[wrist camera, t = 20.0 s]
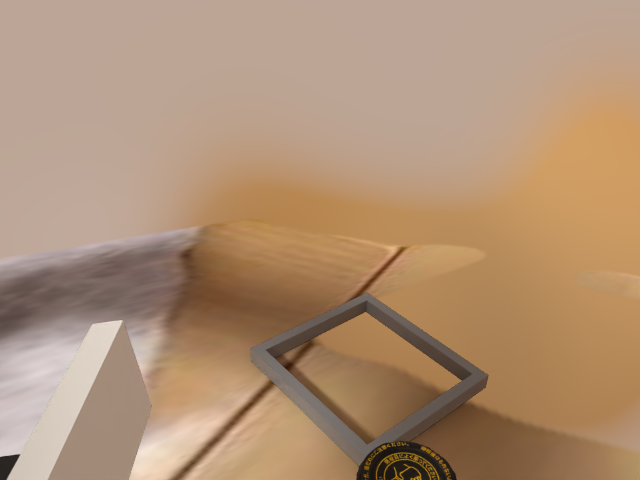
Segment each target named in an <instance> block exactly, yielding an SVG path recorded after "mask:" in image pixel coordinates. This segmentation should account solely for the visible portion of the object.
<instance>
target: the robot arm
mask: <svg viewBox="0 0 640 480" xmlns="http://www.w3.org/2000/svg"><path fill="white" fill-rule="evenodd" d="M151 408H152V405H151V402H150V399H149V396H148V393H147V390H146V387H145V384H144V381H143V378H142V375H141V372H140V369H139V366H138V363H137V360H136V357H135V354H134V351H133V348H132V345H131V342H130V339H129V336H128V333H127V330H126V327H125V324H124V321H123V320H118V321H111V322H103V323H95V324H92V326H91V327H90V329H89V331H88V333H87V335H86V337H85V338H84V340H83V342H82V344H81V346H80V347H79V349H78V351H77V353H76V355H75V357H74V358H73V360H72V362H71V364H70V366H69V367H68V369H67V371H66V373H65V375H64V376H63V378H62V380H61V382H60V384H59V386H58V387H57V389H56V391H55V393H54V395H53V396H52V398H51V400H50V402H49V404H48V406H47V407H46V409H45V411H44V413H43V415H42V416H41V418H40V420H39V422H38V424H37V426H36V427H35V429H34V431H33V433H32V435H31V436H30V438H29V440H28V442H27V444H26V445H25V447H24V449H23V451H22V453H21V454H19V455H11V456H3V457H0V480H129V477H130V473H131V470H132V467H133V464H134V461H135V458H136V455H137V452H138V448H139V445H140V442H141V439H142V436H143V433H144V430H145V427H146V423H147V420H148V417H149V414H150V411H151Z"/></svg>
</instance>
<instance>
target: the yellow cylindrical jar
mask: <svg viewBox="0 0 640 480" xmlns="http://www.w3.org/2000/svg"><path fill="white" fill-rule="evenodd" d="M356 480H457V479H456V475H455V473H454V471H453V470H452V468H451V467H450V465H449V464H448V462H447V461H446V460H445V459H444V458H442V457H441V456H440V455H439V454H437V453H436V452H434V451H433V450H431V449H430V448H428V447H426V446H423V445H420V444H418V443H412V442H407V441H397V442H391V443H384V444H381V445H380V446H378V447H376V448H375V449H374V450H372V451H371V452H370V453H369V454H368V455H367V456H366V457H365V459H364V461H363V462H362V463H361V464H360V466H359V470H358V472H357V479H356Z"/></svg>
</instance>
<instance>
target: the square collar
mask: <svg viewBox="0 0 640 480" xmlns="http://www.w3.org/2000/svg"><path fill="white" fill-rule="evenodd" d="M364 312H367V313H369V314H370V315H371V316H373V317H374V318H375V319H377V320H378V321H380V322H381V323H383V324H384V325H385V326H387V327H388V328H390V329H391V330H392V331H394V332H395V333H397V334H398V335H399V336H401V337H402V338H403V339H405V340H406V341H408V342H409V343H411V344H412V345H413V346H415V347H416V348H417V349H419V350H420V351H422V352H423V353H424V354H426V355H427V356H429V357H430V358H431V359H433V360H434V361H436V362H437V363H439V364H440V365H441V366H443V367H444V368H445V369H447V370H448V371H450V372H451V373H453V374H454V375H455V376H457V377H458V378H459V379H461V380H462V381H461V382H460V383H458V384H457V385H455V386H454V387H452V388H451V389H449V390H448V391H446V392H445V393H443V394H442V395H440V396H439V397H437V398H436V399H435V400H433V401H432V402H430V403H429V404H427V405H426V406H424V407H423V408H421V409H420V410H418V411H417V412H415V413H414V414H412V415H411V416H409V417H408V418H406V419H405V420H403V421H402V422H400V423H399V424H397V425H396V426H394V427H393V428H391V429H390V430H388V431H387V432H386V433H384V434H383V435H381V436H380V437H378V438H377V439H375V440H374V441H372V442H371V443H369V444H368V445H367V444H366V443H365V442H364V441H363V440H362V439H361V438H360V437H359V436H358V435H356V434H355V433H354V432H353V431H352V430H351V429H350V428H349V427H348V426H347V425H346V424H345V423H344V422H342V421H341V420H340V419H339V418H338V417H337V416H336V415H335V414H334V413H333V412H332V411H331V410H330V409H328V408H327V407H326V406H325V405H324V404H323V403H322V402H321V401H320V400H319V399H318V398H317V397H316V396H314V395H313V394H312V393H311V392H310V391H309V390H308V389H307V388H306V387H305V386H304V385H303V384H302V383H300V382H299V381H298V380H297V379H296V378H295V377H294V376H293V375H292V374H291V373H290V372H289V371H288V370H286V369H285V368H284V367H283V366H282V365H281V364H280V363H279V362H278V361H277V360H276V359H275V357H277V356H279V355H281V354H283V353H285V352H287V351H289V350H291V349H293V348H295V347H297V346H299V345H301V344H303V343H305V342H307V341H309V340H311V339H313V338H315V337H317V336H319V335H320V334H322V333H324V332H326V331H328V330H330V329H332V328H334V327H336V326H338V325H340V324H342V323H344V322H346V321H348V320H350V319H352V318H354V317H356V316H358V315H360V314H362V313H364ZM251 361H252V362H253V363H254V364H255V365H256V366H257V367H258V368H259V369H260V370H261V371H262V372H263V373H264V374H265V375H266V376H267V377H268V378H269V379H270V380H271V381H272V382H273V383H274V384H275V385H276V386H277V387H278V388H279V389H280V390H282V391H283V392H284V393H285V394H286V395H287V396H288V397H289V398H290V399H291V400H292V401H293V402H294V403H295V404H296V405H297V406H298V407H299V408H300V409H301V410H302V411H303V412H304V413H305V414H306V415H307V416H308V417H309V418H310V419H311V420H312V421H313V422H314V423H315V424H316V425H317V426H318V427H319V428H320V429H321V430H322V431H323V432H325V433H326V434H327V435H328V436H329V437H330V438H331V439H332V440H333V441H334V442H335V443H336V444H337V445H338V446H339V447H340V448H341V449H342V450H343V451H344V452H345V453H346V454H347V455H348V456H349V457H350V458H351V459H352V460H353V461H354V462H355V463H356V464H357V465H358V466H360V464H361V463H362V462H363V461H364V459H365V457H366V456H367V455H368V454H369V453H370V452H371V451H372V450H374V449H375V448H376V447H378V446H380V445H381V444H384V443H391V442H397V441H407V442H409V441H411V440H412V439H414V438H415V437H416V436H418V435H419V434H421V433H422V432H424V431H425V430H426V429H428V428H429V427H431V426H432V425H433V424H435V423H436V422H438V421H439V420H441V419H442V418H443V417H445V416H446V415H448V414H449V413H450V412H452V411H453V410H455V409H456V408H457V407H459V406H460V405H462V404H463V403H465V402H466V401H467V400H469V399H470V398H472V397H473V396H474V395H476V394H477V393H479V392H480V391H481V390H483V389H484V388H486V384H487V380H488V375H487V374H486V373H484V372H483V371H481V370H480V369H479V368H477V367H475V366H474V365H473V364H471V363H470V362H468V361H467V360H465V359H464V358H462V357H461V356H459V355H458V354H457V353H455V352H454V351H452V350H451V349H449V348H448V347H446V346H445V345H443V344H442V343H440V342H439V341H438V340H436V339H434V338H433V337H432V336H430V335H428V334H427V333H426V332H424V331H423V330H421V329H420V328H418V327H417V326H415V325H414V324H413V323H411V322H410V321H408V320H407V319H405V318H404V317H402V316H401V315H399V314H398V313H396V312H395V311H394V310H392V309H391V308H389V307H388V306H386V305H385V304H383V303H382V302H380V301H379V300H377V299H376V298H374V297H373V296H372V295H370V294H369V293H365V294H363V295H361V296H359V297H357V298H355V299H353V300H351V301H349V302H347V303H345V304H343V305H340V306H338V307H336V308H334V309H332V310H330V311H328V312H326V313H324V314H322V315H320V316H317V317H315V318H313V319H311V320H309V321H307V322H305V323H303V324H301V325H299V326H297V327H295V328H292V329H290V330H288V331H286V332H284V333H282V334H280V335H278V336H276V337H274V338H272V339H270V340H267V341H265V342H263V343H261V344H259V345H257V346H255V347H253V348H251Z"/></svg>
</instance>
